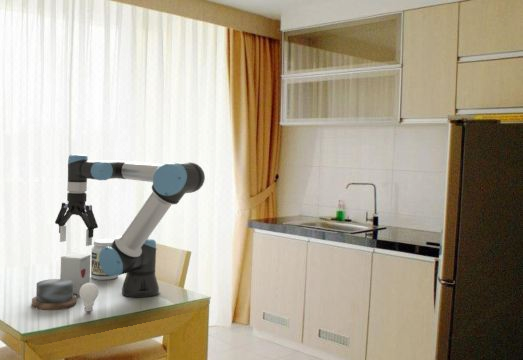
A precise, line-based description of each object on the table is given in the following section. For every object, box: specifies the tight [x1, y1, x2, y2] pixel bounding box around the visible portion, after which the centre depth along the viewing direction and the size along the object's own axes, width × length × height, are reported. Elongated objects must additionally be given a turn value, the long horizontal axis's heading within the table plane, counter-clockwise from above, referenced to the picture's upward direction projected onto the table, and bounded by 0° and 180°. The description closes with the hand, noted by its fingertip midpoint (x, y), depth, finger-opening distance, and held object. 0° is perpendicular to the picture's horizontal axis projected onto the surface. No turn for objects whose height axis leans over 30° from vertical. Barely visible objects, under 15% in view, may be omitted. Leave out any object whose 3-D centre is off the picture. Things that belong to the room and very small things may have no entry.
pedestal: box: [31, 278, 78, 311], centre depth 218 cm, size 16×16×8 cm
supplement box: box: [59, 252, 92, 295], centre depth 237 cm, size 9×9×15 cm
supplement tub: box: [90, 238, 118, 281], centre depth 262 cm, size 12×12×17 cm
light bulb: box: [79, 282, 99, 314], centre depth 209 cm, size 7×7×11 cm
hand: (75, 243), depth 236 cm, fingers open, 13 cm apart
